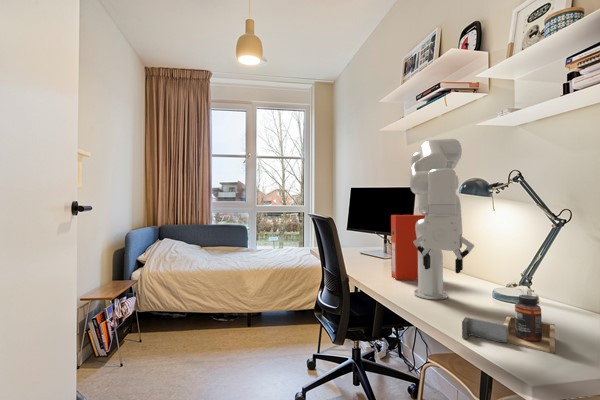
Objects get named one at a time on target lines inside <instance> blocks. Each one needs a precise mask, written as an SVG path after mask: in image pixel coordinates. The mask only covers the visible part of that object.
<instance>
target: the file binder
mask: <svg viewBox="0 0 600 400" xmlns="http://www.w3.org/2000/svg"><path fill="white" fill-rule="evenodd" d="M424 218H425V215H423V214H402V215H401V214H391V215H390V232H391V234H390V236H391V238H390V239H391V240H390V241H391V244H390V245H391V248H390V249H391V250H390V253H391V256H390V257H391V260H390V261H391V263H390V264H391V277H392V278H393V279H394V278H395V279H396V281H407V280H408V281H418V249H417V247H416V246H415V244H414V243H413V241H414V240H416V239H417V237H416V230H415V225H416V222H417V221H418V220H420V219H424ZM395 279H394V280H395Z"/></svg>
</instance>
